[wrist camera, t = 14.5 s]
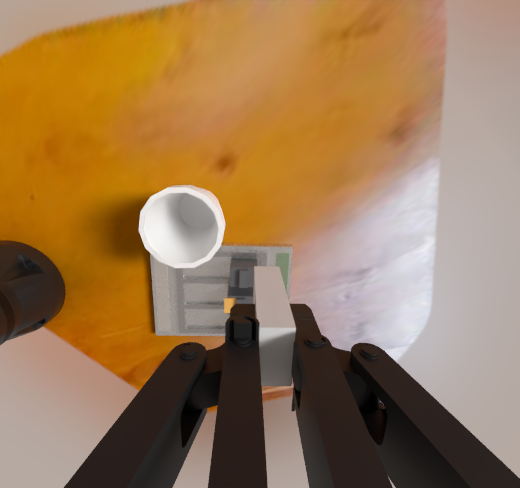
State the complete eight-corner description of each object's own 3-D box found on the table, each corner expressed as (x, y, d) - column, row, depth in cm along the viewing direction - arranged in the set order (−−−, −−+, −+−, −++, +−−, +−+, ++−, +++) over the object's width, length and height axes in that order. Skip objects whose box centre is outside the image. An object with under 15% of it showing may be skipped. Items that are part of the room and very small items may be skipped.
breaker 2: (226, 301, 49) (223, 316, 44) (226, 284, 48) (223, 298, 43) (253, 302, 49) (253, 317, 44) (253, 285, 48) (254, 299, 44)
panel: (158, 330, 52) (154, 337, 50) (152, 241, 47) (147, 244, 45) (285, 331, 53) (286, 338, 51) (291, 244, 48) (293, 248, 46)
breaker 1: (231, 276, 48) (229, 289, 43) (231, 258, 47) (229, 269, 42) (256, 276, 48) (257, 289, 43) (257, 258, 47) (258, 270, 42)
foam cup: (242, 213, 46) (240, 234, 34) (198, 250, 48) (180, 283, 35) (200, 164, 44) (181, 168, 32) (155, 204, 46) (120, 223, 33)
